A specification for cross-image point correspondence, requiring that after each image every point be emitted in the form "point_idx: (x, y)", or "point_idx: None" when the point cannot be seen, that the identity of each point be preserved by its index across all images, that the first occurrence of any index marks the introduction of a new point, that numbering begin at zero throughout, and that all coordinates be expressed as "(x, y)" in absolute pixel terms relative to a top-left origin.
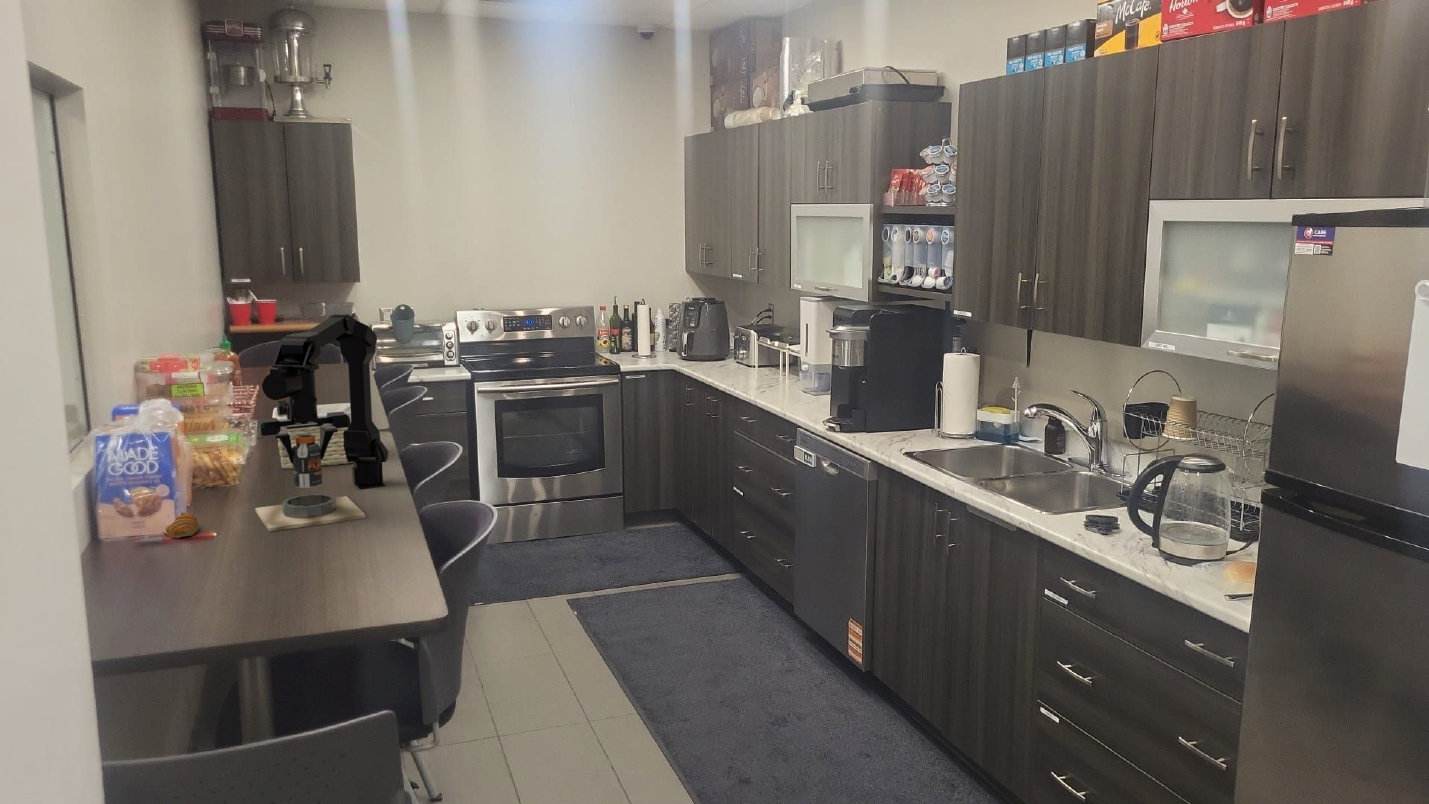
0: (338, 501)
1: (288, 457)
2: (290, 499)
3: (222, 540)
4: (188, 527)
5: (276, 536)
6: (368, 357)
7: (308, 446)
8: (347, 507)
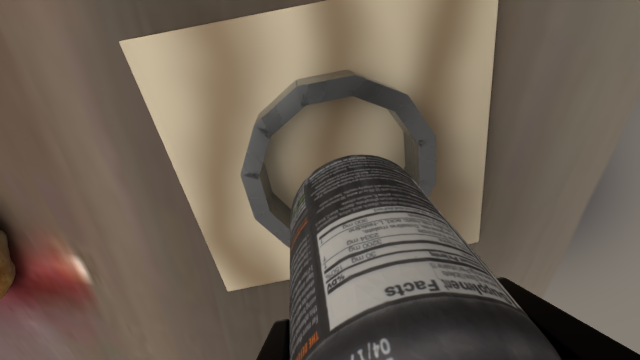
0: (449, 56)
1: (259, 357)
2: (270, 138)
3: (124, 317)
4: None
5: (252, 316)
6: None
7: None
8: (456, 154)
